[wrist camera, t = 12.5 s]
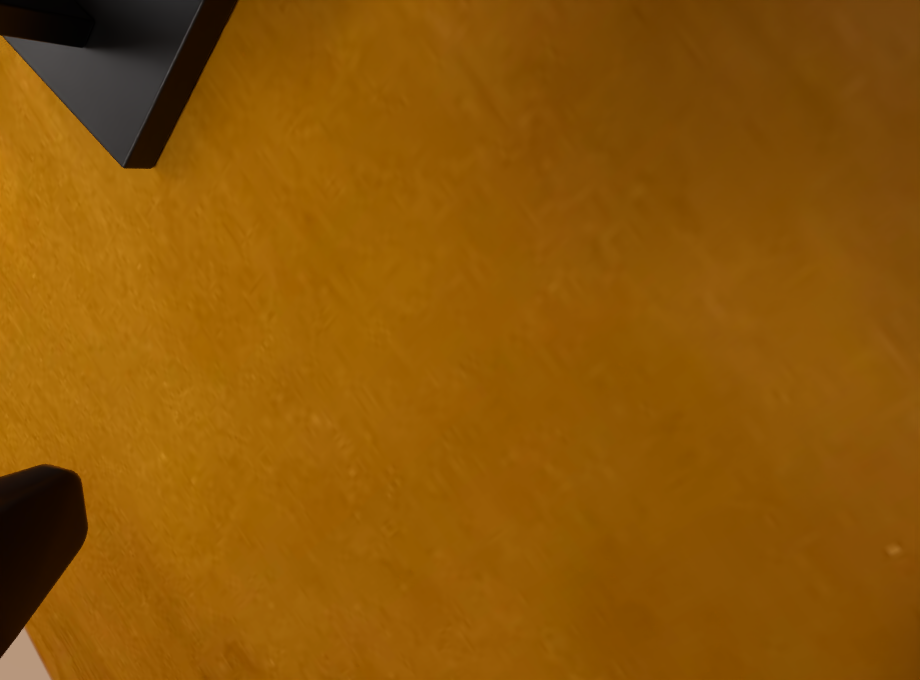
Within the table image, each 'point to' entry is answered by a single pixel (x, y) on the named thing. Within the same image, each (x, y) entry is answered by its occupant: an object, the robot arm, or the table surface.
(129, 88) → the bracket
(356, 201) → the table surface
